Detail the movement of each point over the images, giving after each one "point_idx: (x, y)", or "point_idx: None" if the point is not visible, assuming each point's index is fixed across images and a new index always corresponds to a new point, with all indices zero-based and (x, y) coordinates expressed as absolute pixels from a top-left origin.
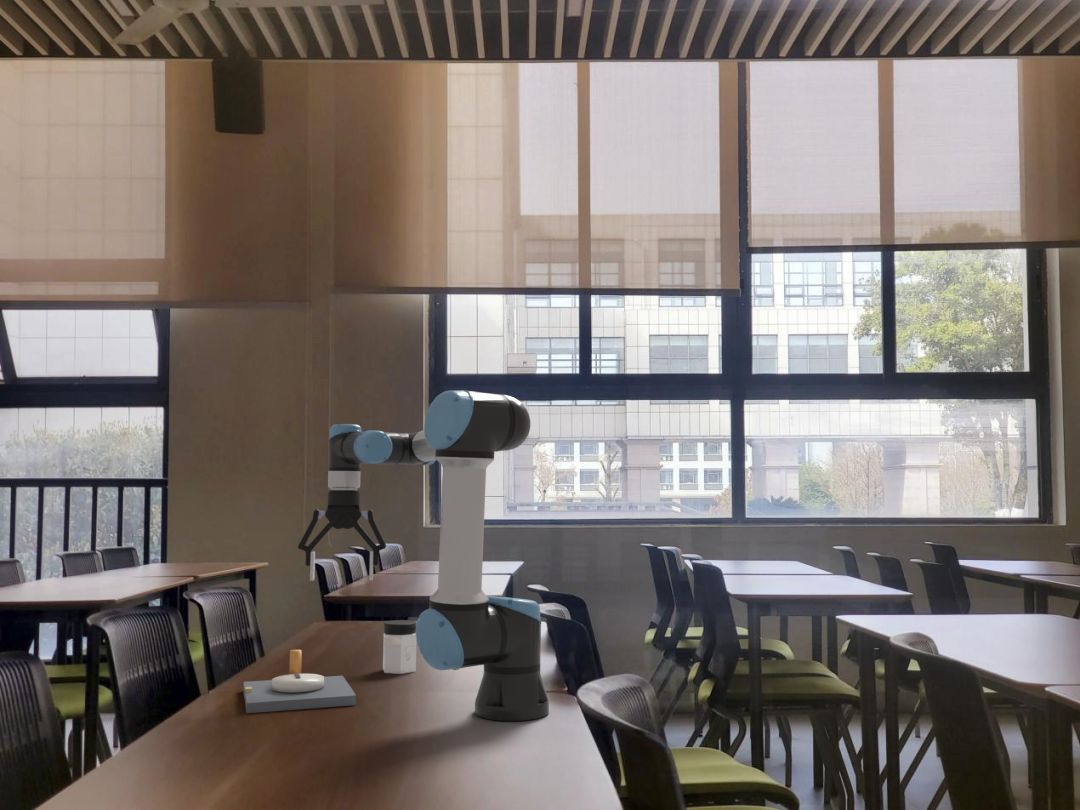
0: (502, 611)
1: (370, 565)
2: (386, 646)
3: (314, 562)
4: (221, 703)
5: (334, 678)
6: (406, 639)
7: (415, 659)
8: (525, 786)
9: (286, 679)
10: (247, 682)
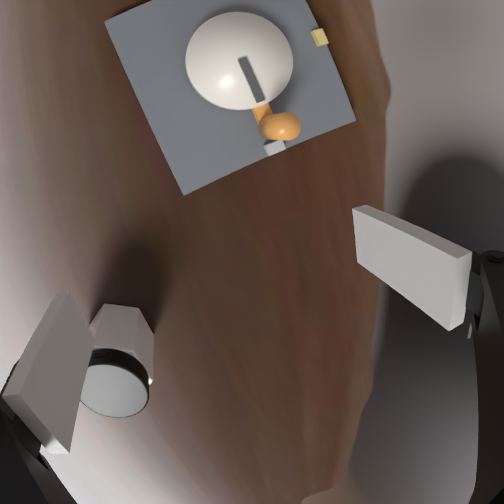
0: None
1: (42, 334)
2: (131, 335)
3: (408, 279)
4: (345, 33)
5: (191, 163)
6: None
7: None
8: None
9: (262, 49)
10: (348, 114)
